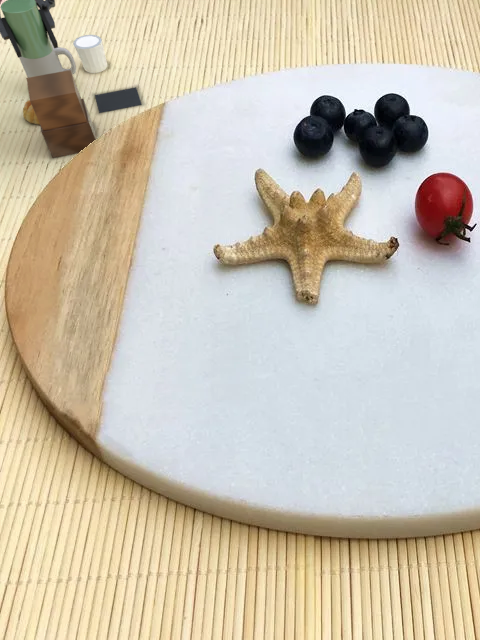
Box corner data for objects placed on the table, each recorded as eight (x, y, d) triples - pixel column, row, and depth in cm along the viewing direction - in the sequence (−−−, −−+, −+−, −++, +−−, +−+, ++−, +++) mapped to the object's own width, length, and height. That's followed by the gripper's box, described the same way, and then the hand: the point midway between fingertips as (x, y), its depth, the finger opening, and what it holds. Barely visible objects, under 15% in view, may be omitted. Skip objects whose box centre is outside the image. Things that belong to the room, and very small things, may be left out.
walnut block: (53, 159, 149) (27, 102, 138) (49, 134, 155) (24, 77, 144) (99, 150, 152) (78, 92, 140) (93, 125, 157) (72, 68, 146)
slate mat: (99, 114, 160) (99, 112, 159) (95, 96, 164) (94, 95, 164) (142, 106, 162) (141, 104, 162) (136, 89, 166) (136, 87, 166)
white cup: (87, 60, 174) (77, 33, 168) (113, 61, 174) (104, 34, 168) (79, 75, 170) (69, 48, 164) (106, 76, 169) (97, 48, 164)
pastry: (73, 113, 160) (67, 98, 157) (60, 130, 156) (54, 115, 153) (37, 108, 161) (30, 93, 158) (23, 124, 157) (16, 110, 154)
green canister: (21, 61, 133) (1, 15, 126) (18, 45, 137) (-1, -1, 130) (54, 55, 135) (37, 9, 128) (51, 40, 138) (34, -6, 131)
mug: (30, 97, 164) (10, 53, 155) (35, 78, 169) (17, 34, 160) (80, 94, 165) (64, 50, 156) (84, 75, 170) (69, 31, 161)
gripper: (-78, -74, 121) (-17, 55, 126) (31, -94, 127) (86, 30, 132) (-69, -53, 128) (-11, 69, 133) (35, -73, 134) (86, 44, 139)
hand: (37, 49), depth 133 cm, fingers closed on green canister, 6 cm apart
